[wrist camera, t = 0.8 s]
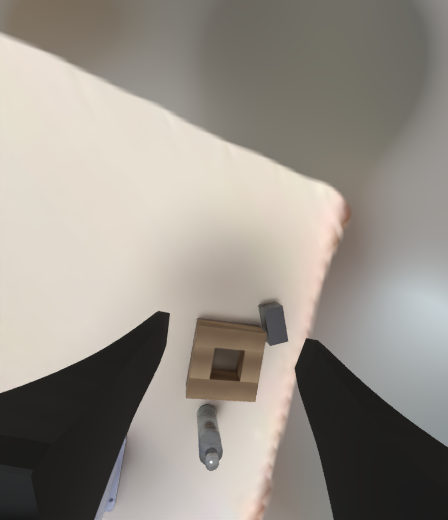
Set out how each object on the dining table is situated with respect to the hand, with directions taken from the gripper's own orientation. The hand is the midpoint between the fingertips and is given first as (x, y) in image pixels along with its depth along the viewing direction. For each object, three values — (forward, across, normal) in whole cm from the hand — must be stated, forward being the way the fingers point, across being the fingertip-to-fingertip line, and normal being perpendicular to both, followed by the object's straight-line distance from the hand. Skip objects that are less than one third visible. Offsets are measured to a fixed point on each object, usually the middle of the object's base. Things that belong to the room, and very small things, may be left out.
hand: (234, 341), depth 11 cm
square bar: (+18, -7, +10) cm, 21 cm away
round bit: (+12, 0, +22) cm, 25 cm away
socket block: (+15, -1, +14) cm, 21 cm away
